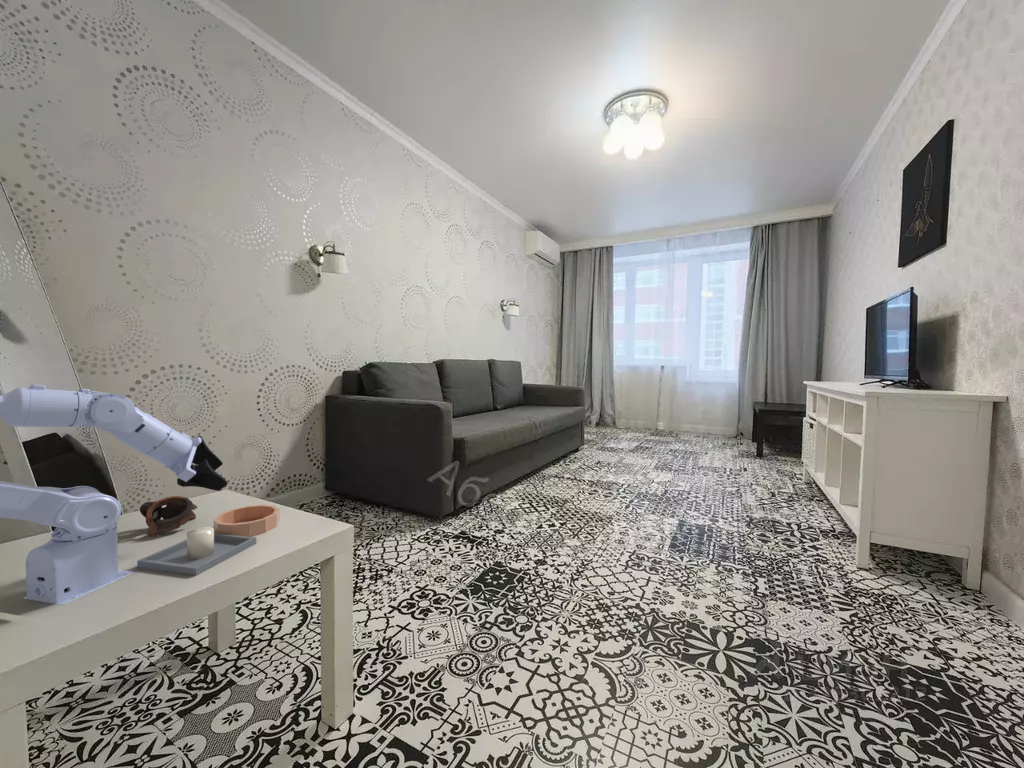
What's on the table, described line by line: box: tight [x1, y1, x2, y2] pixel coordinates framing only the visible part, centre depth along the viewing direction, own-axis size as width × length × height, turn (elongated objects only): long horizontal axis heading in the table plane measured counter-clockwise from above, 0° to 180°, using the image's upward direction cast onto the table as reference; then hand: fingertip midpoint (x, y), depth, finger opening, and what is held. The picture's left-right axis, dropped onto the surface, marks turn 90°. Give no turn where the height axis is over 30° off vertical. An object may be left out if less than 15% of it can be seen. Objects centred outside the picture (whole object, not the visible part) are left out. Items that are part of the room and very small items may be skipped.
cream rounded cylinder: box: [186, 526, 214, 560], centre depth 74 cm, size 4×4×4 cm
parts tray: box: [136, 533, 257, 577], centre depth 74 cm, size 12×12×2 cm
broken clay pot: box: [139, 495, 198, 537], centre depth 85 cm, size 12×10×8 cm
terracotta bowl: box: [213, 504, 281, 537], centre depth 86 cm, size 12×12×4 cm
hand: (220, 476), depth 80 cm, fingers open, 7 cm apart
